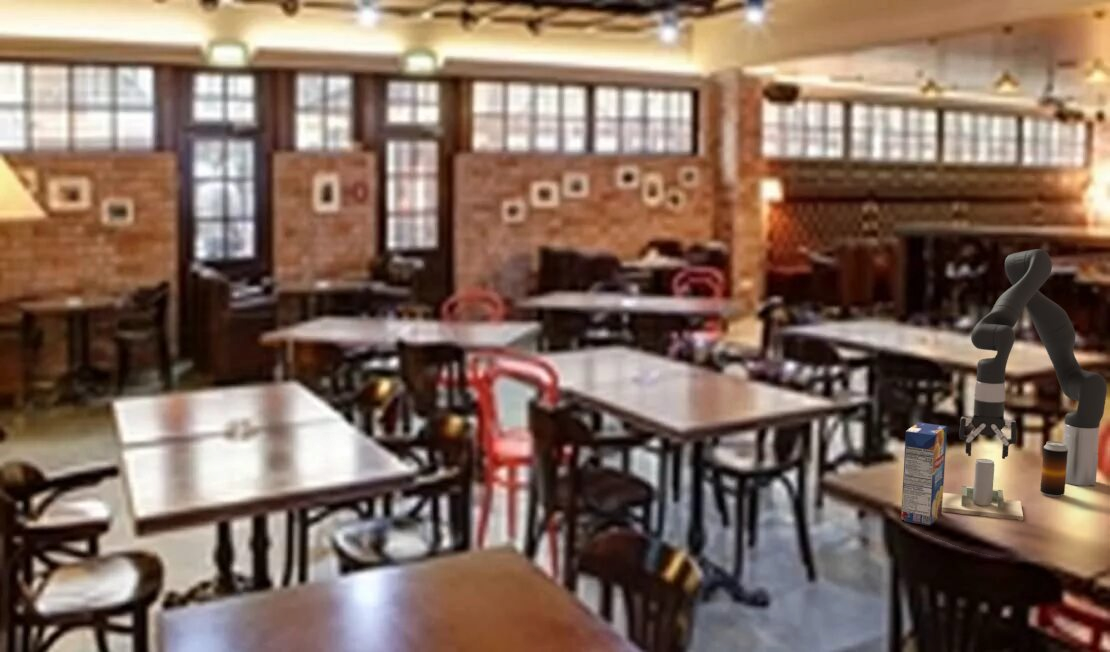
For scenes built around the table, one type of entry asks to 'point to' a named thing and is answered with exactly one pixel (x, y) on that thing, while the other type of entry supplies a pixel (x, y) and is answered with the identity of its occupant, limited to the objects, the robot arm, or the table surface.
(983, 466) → the white cylinder
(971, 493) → the rest
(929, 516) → the juice carton
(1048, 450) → the beverage can
